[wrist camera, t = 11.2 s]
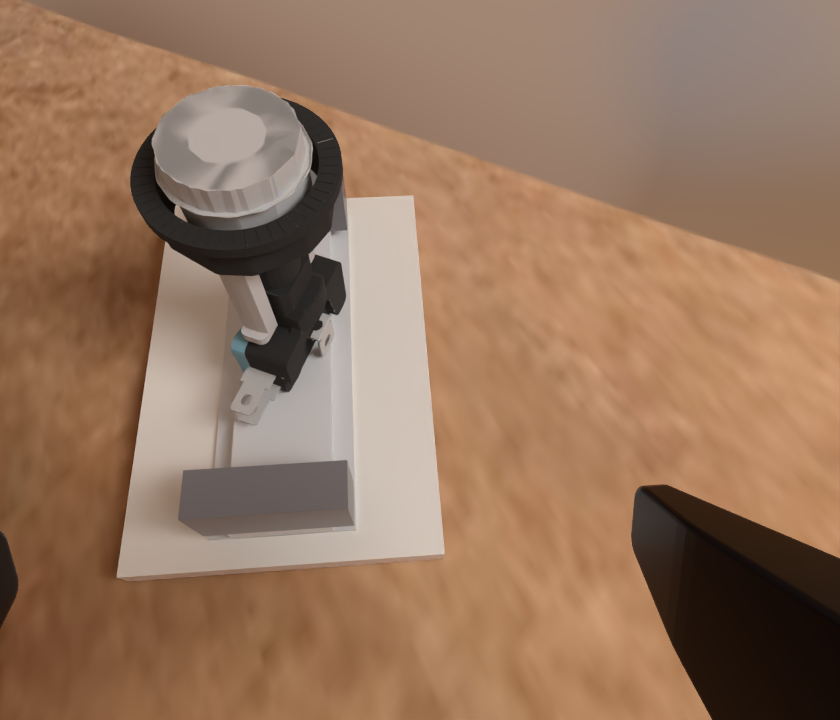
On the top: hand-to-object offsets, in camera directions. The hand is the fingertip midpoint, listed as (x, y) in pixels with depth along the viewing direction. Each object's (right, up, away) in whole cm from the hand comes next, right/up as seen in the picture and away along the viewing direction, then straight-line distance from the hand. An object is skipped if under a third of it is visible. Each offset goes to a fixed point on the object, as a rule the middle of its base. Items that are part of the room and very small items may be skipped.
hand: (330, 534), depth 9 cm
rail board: (-4, +2, +16) cm, 17 cm away
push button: (-4, +3, +15) cm, 15 cm away
